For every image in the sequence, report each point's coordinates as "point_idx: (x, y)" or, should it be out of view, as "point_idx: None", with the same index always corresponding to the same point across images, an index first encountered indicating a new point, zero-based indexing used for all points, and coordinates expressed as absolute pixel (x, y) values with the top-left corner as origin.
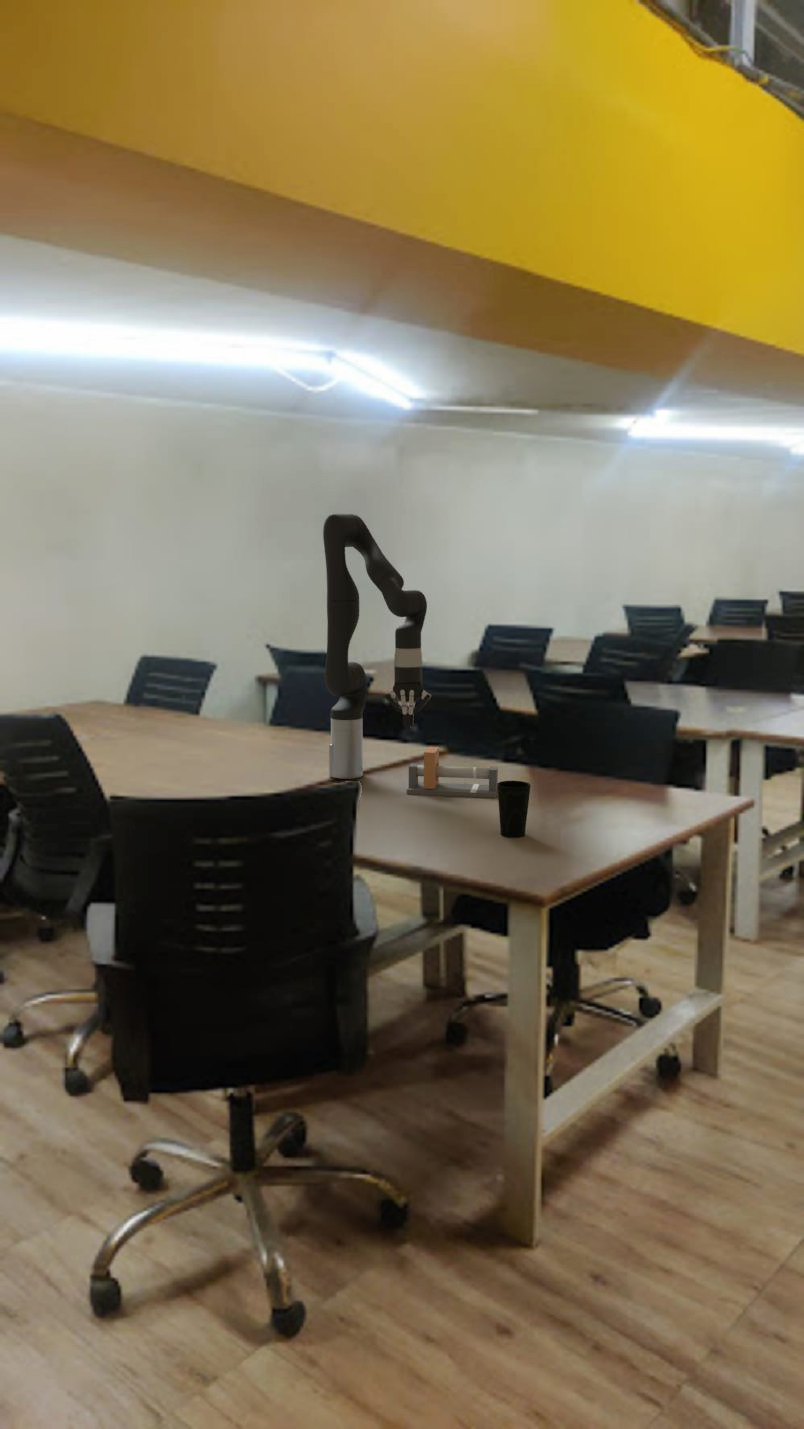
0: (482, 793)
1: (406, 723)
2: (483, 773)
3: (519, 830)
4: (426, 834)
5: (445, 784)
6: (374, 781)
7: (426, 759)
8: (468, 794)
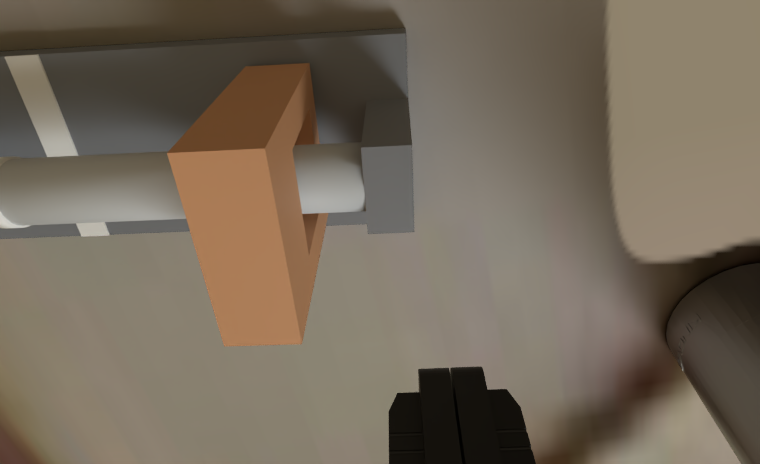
0: None
1: (472, 406)
2: None
3: None
4: None
5: None
6: (606, 254)
7: (256, 127)
8: (52, 50)
